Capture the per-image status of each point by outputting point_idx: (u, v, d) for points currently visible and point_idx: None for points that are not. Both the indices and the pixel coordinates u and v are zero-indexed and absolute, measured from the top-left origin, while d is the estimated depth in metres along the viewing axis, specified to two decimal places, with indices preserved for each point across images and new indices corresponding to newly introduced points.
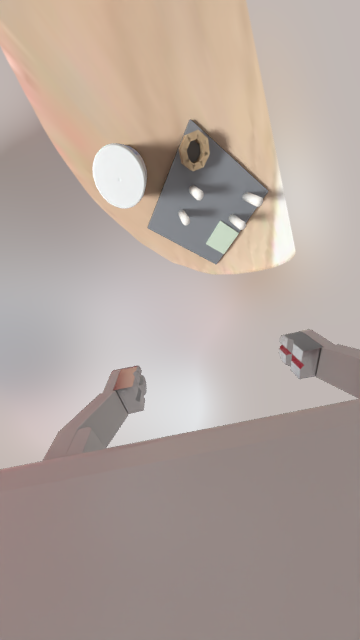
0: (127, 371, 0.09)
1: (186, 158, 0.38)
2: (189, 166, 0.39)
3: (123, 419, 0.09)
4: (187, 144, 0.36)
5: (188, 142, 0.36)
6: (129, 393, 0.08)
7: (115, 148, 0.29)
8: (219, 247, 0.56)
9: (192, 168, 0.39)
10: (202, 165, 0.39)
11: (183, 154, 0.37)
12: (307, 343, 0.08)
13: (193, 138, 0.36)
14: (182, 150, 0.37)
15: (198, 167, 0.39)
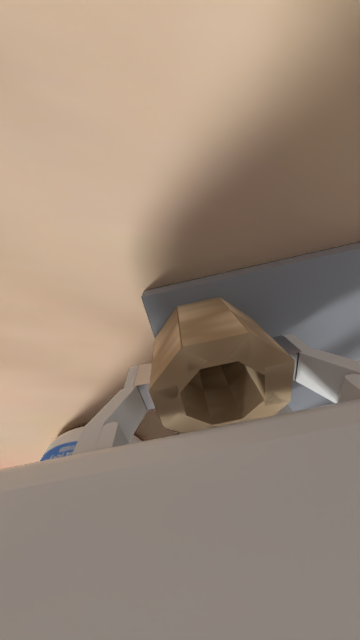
0: (146, 367, 0.09)
1: (203, 428, 0.08)
2: None
3: (143, 415, 0.08)
4: (175, 406, 0.07)
5: (174, 399, 0.07)
6: None
7: None
8: None
9: None
10: (282, 401, 0.08)
11: (183, 429, 0.08)
12: (286, 347, 0.08)
13: (184, 380, 0.07)
14: (171, 425, 0.08)
15: (268, 414, 0.08)
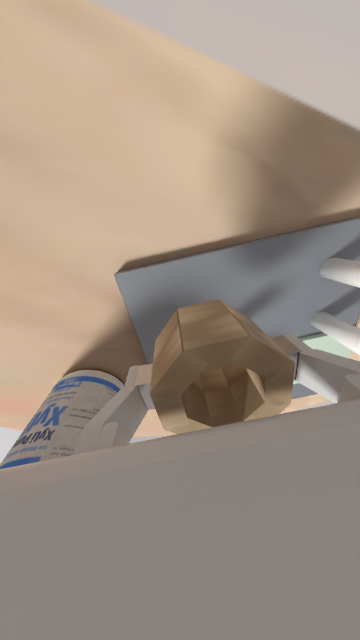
0: (146, 367, 0.09)
1: None
2: None
3: (143, 415, 0.08)
4: (176, 408, 0.07)
5: (175, 402, 0.07)
6: None
7: None
8: None
9: None
10: (282, 403, 0.08)
11: (184, 431, 0.08)
12: (286, 347, 0.08)
13: (184, 383, 0.07)
14: (172, 428, 0.08)
15: None
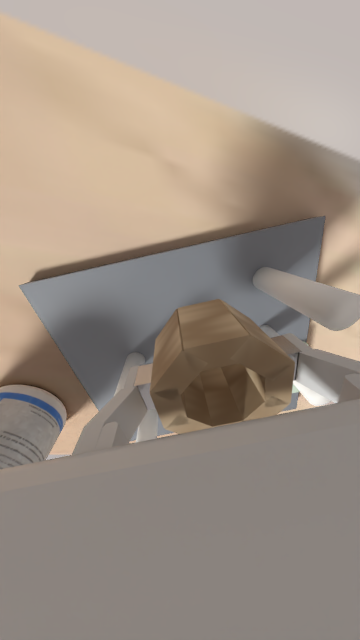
0: (146, 367, 0.09)
1: None
2: None
3: (143, 415, 0.08)
4: (176, 408, 0.07)
5: (175, 401, 0.07)
6: None
7: None
8: None
9: None
10: (282, 403, 0.08)
11: (184, 431, 0.08)
12: (286, 347, 0.08)
13: (184, 382, 0.07)
14: (172, 427, 0.08)
15: (269, 415, 0.08)
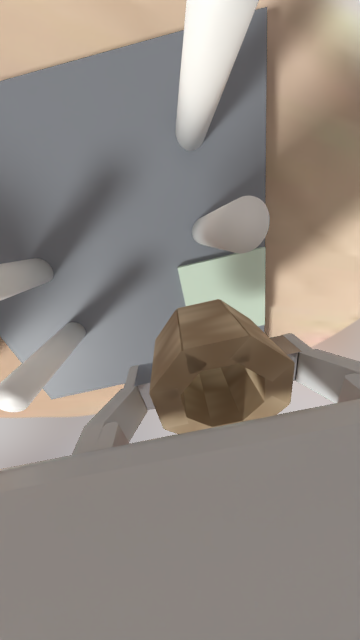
0: (146, 367, 0.09)
1: None
2: None
3: (143, 415, 0.08)
4: (176, 408, 0.07)
5: (175, 402, 0.07)
6: None
7: None
8: None
9: None
10: (282, 403, 0.08)
11: (184, 431, 0.08)
12: (286, 347, 0.08)
13: (184, 382, 0.07)
14: (172, 427, 0.08)
15: (268, 416, 0.08)
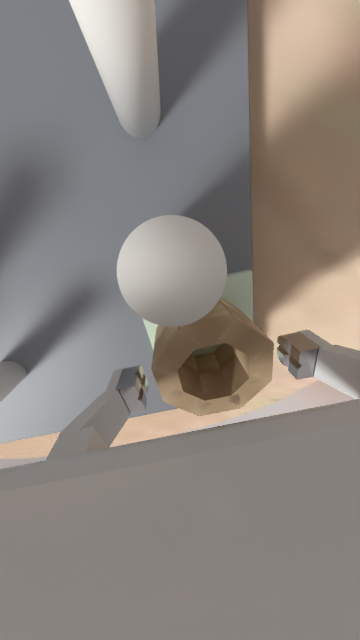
0: (129, 371, 0.09)
1: (197, 403, 0.10)
2: (220, 408, 0.10)
3: (125, 419, 0.09)
4: (173, 382, 0.09)
5: (173, 376, 0.09)
6: (132, 393, 0.08)
7: None
8: None
9: (234, 405, 0.10)
10: (265, 379, 0.09)
11: (180, 404, 0.10)
12: (304, 343, 0.08)
13: (180, 359, 0.08)
14: (170, 400, 0.09)
15: (253, 391, 0.10)
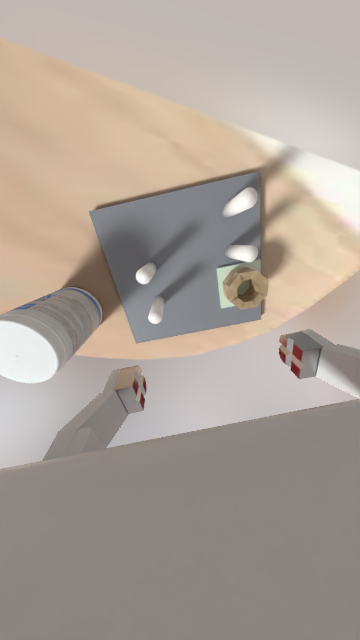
0: (127, 371, 0.09)
1: (241, 303, 0.28)
2: (249, 306, 0.28)
3: (123, 419, 0.09)
4: (235, 293, 0.27)
5: (235, 290, 0.27)
6: (129, 393, 0.08)
7: None
8: None
9: (254, 305, 0.28)
10: (265, 294, 0.28)
11: (235, 303, 0.28)
12: (307, 343, 0.08)
13: (238, 283, 0.27)
14: (232, 301, 0.28)
15: (261, 299, 0.28)
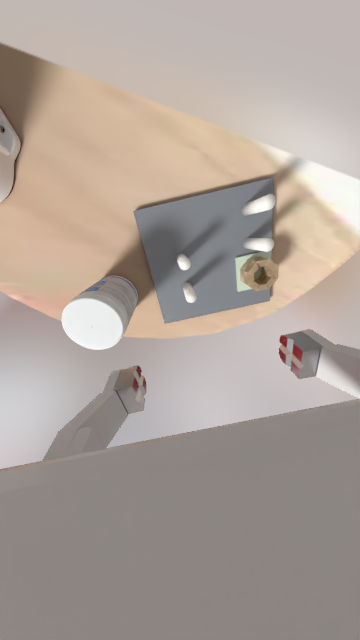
0: (127, 371, 0.09)
1: (257, 286, 0.35)
2: (263, 288, 0.35)
3: (123, 419, 0.09)
4: (252, 277, 0.34)
5: (252, 275, 0.34)
6: (129, 393, 0.08)
7: (69, 306, 0.25)
8: None
9: (267, 287, 0.35)
10: (276, 278, 0.34)
11: (252, 286, 0.35)
12: (307, 343, 0.08)
13: (255, 269, 0.33)
14: (250, 284, 0.34)
15: (272, 282, 0.35)
